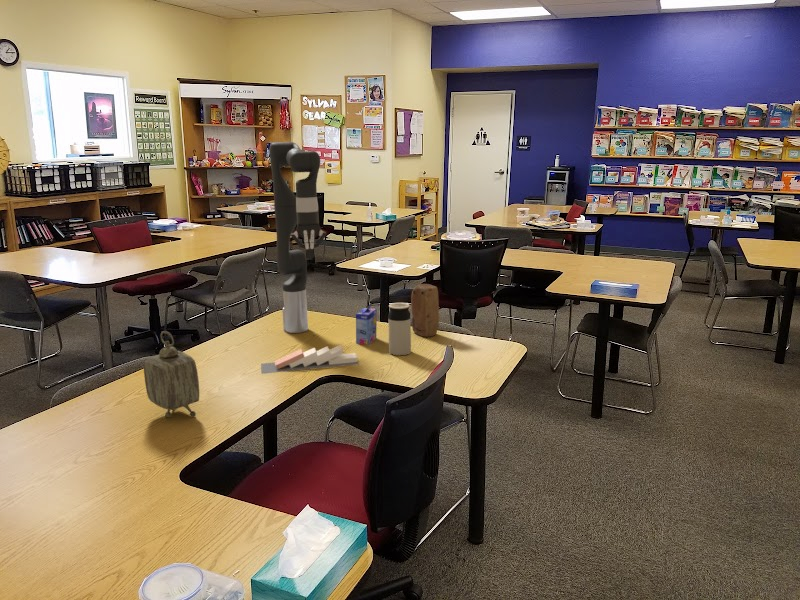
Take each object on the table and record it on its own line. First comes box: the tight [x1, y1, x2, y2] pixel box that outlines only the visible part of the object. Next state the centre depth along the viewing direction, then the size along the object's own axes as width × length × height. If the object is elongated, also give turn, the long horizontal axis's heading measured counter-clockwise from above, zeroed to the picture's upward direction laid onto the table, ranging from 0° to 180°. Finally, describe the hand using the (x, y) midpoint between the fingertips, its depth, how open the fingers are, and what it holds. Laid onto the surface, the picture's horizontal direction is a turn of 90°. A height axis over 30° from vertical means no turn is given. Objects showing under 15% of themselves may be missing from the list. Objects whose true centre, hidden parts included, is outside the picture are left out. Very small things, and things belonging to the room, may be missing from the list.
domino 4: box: [316, 344, 345, 365], centre depth 217 cm, size 2×5×10 cm
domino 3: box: [303, 345, 331, 367], centre depth 216 cm, size 2×5×10 cm
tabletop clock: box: [143, 330, 200, 419], centre depth 176 cm, size 14×9×25 cm, turn 48°
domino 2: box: [289, 347, 318, 368], centre depth 215 cm, size 2×5×10 cm
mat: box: [260, 361, 360, 375], centre depth 216 cm, size 33×10×1 cm, turn 103°
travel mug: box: [388, 302, 412, 356], centre depth 226 cm, size 8×8×18 cm
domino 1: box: [274, 348, 304, 370], centre depth 214 cm, size 2×5×10 cm
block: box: [410, 283, 440, 338], centre depth 247 cm, size 11×8×20 cm
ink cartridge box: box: [355, 304, 378, 345], centre depth 240 cm, size 10×6×14 cm, turn 163°
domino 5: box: [328, 352, 359, 365], centre depth 219 cm, size 2×5×10 cm
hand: (309, 259), depth 221 cm, fingers closed
